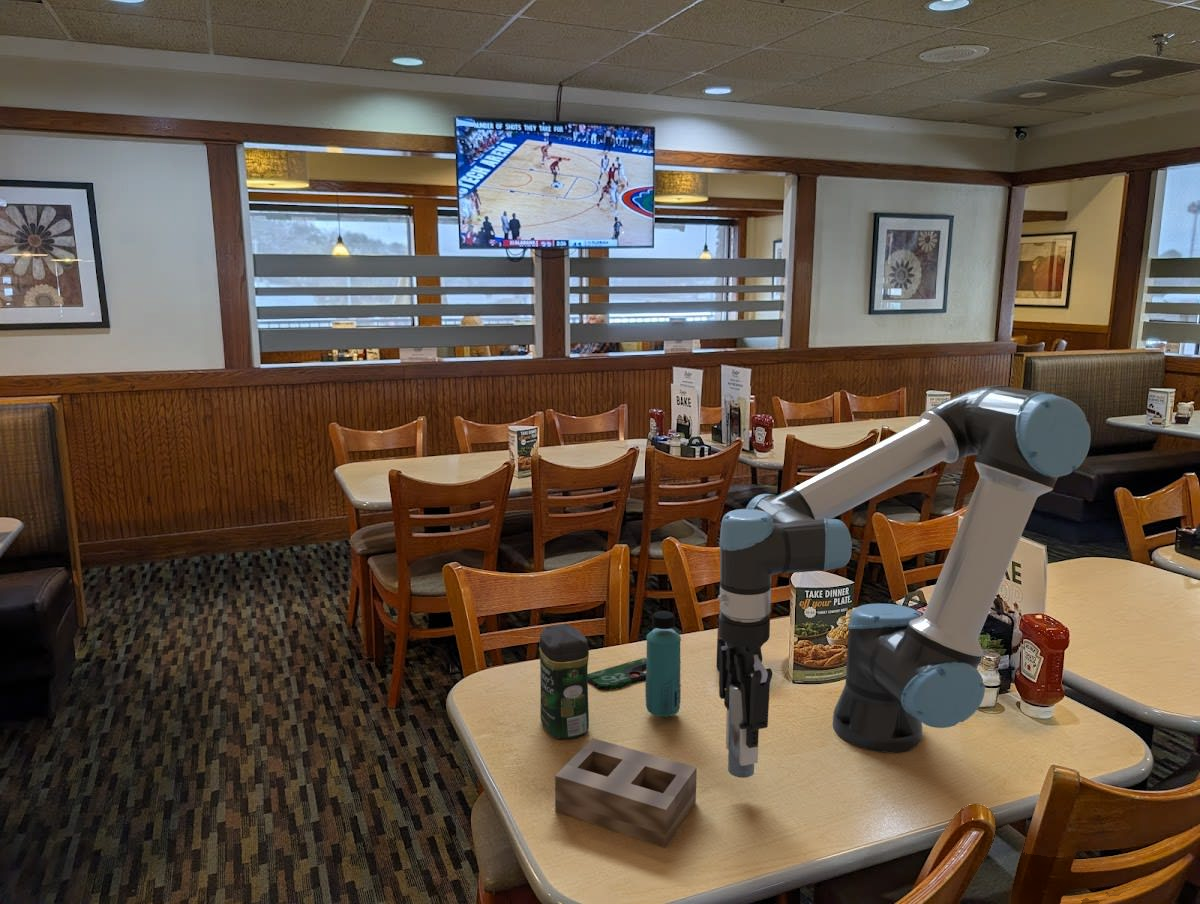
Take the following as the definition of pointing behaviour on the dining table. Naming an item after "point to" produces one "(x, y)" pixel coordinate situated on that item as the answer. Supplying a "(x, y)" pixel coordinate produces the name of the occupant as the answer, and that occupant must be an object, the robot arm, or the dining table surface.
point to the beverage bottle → (663, 666)
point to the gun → (619, 675)
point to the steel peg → (736, 734)
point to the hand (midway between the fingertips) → (741, 754)
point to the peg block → (626, 791)
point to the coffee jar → (564, 681)
